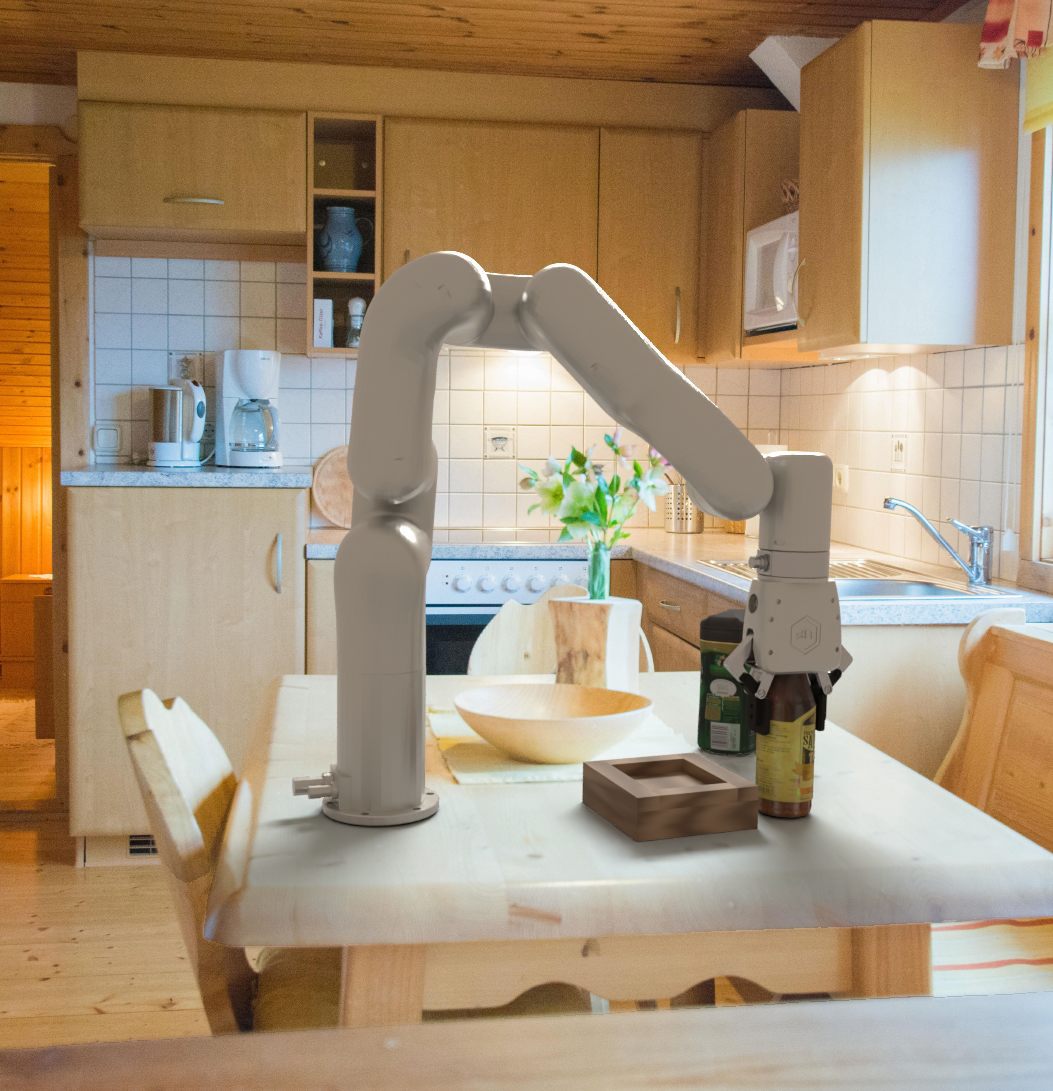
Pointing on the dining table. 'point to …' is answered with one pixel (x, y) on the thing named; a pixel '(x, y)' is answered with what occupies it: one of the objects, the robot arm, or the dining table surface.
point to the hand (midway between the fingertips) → (786, 728)
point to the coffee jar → (722, 688)
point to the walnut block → (669, 796)
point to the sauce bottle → (787, 749)
